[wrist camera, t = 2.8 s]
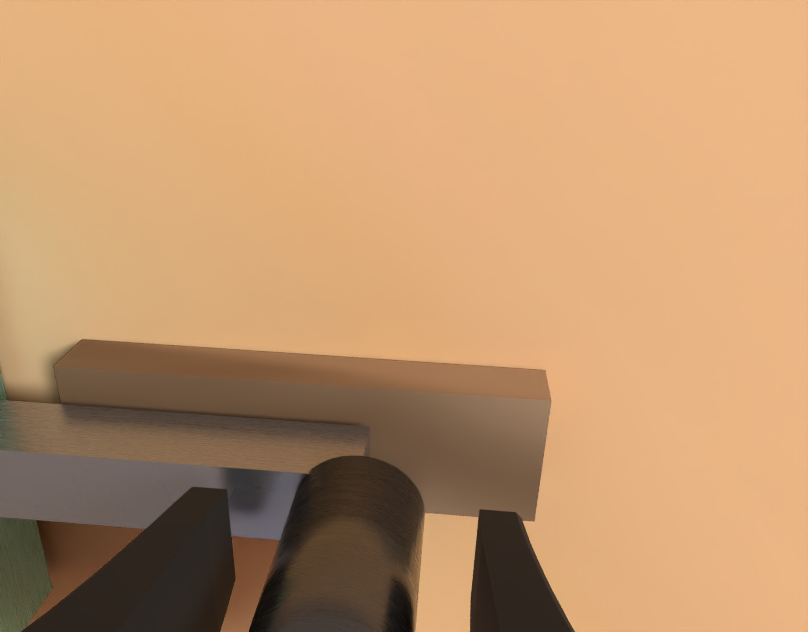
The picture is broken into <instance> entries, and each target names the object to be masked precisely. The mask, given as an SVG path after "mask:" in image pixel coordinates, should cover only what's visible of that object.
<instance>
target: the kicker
mask: <svg viewBox="0 0 808 632" xmlns="http://www.w3.org/2000/svg"><path fill="white" fill-rule="evenodd" d="M191 487H205V488H218V489H227V495H228V505H229V516H230V527H231V536H235V537H247V538H259V539H271V540H279V543H278V546H277V549H276V552H275V555H274V558H273V561H272V564H271V567H270V570H269V573H268V576H267V579H266V582H265V585H264V588H263V591H262V594H261V597H260V600H259V602H258V605H257V608H256V611H255V614H254V617H253V620H252V623H251V626H250V629H249V632H415V628H416V616H417V603H418V591H419V578H420V566H421V554H422V541H423V529H424V516H425V509H424V503H423V499H422V496H421V494H420V492H419V490H418V488H417V487H416V485H415V484H414V483H413V481H412V480H411V479H410V478H409V477H408V476H407V475H406V474H405V473H403V472H402V471H401V470H399V469H398V468H396V467H395V466H393V465H391V464H389V463H387V462H384V461H382V460H379V459H376V458H371V457H370V427H368V426H354V425H340V424H327V423H313V422H299V421H285V420H272V419H258V418H244V417H230V416H216V415H203V414H189V413H175V412H161V411H148V410H134V409H120V408H106V407H93V406H79V405H65V404H51V403H38V402H24V401H10V400H7V398H6V394H5V390H4V386H3V381H2V377H1V373H0V632H21V631H22V630H24V629H25V628H26V626H27V625H28V624H29V622H30V621H31V619H32V618H33V616H34V615H35V613H36V612H37V610H38V609H39V608H40V606H41V605H42V603H43V602H44V600H45V599H46V597H47V596H48V594H49V593H50V592H51V590H52V589H53V587H52V583H51V579H50V575H49V571H48V567H47V562H46V558H45V554H44V550H43V546H42V542H41V538H40V534H39V530H38V525H37V521H36V520H42V521H54V522H66V523H78V524H90V525H102V526H114V527H127V528H139V529H146V528H147V527H148V526H149V525H150V524H152V523H153V522H154V521H155V520H156V519H157V518H158V517H159V516H160V515H161V514H162V513H163V512H165V511H166V510H167V509H168V508H169V507H170V506H171V505H172V504H173V503H174V502H175V501H176V500H178V499H179V498H180V497H181V496H182V495H183V494H184V493H185V492H187V491H188V490H189V489H190V488H191Z"/></svg>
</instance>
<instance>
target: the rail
mask: <svg viewBox="0 0 808 632" xmlns="http://www.w3.org/2000/svg"><path fill="white" fill-rule="evenodd" d="M53 367H54V371H55V376H56V381H57V386H58V391H59V396H60V401H61V404H65V405H79V406H93V407H106V408H120V409H134V410H148V411H161V412H175V413H189V414H203V415H216V416H230V417H244V418H258V419H272V420H285V421H299V422H313V423H327V424H340V425H354V426H368V427H370V457H371V458H376V459H379V460H382V461H384V462H387V463H389V464H391V465H393V466H395V467H396V468H398V469H399V470H401V471H402V472H403V473H405V474H406V475H407V476H408V477H409V478H410V479H411V480H412V481H413V483H414V484H415V485H416V487H417V488H418V490H419V492H420V494H421V496H422V499H423V503H424V509H425V513H435V514H448V515H460V516H473V517H479V509H484V510H497V511H509V512H516V513H517V514H518V515H519V516H520V517H521V518H522V520H523V521H534V520H535V513H536V506H537V499H538V492H539V485H540V478H541V471H542V464H543V456H544V449H545V442H546V435H547V428H548V421H549V414H550V407H551V397H550V392H549V387H548V382H547V377H546V372H545V370H532V369H517V368H503V367H488V366H473V365H458V364H443V363H428V362H413V361H398V360H383V359H368V358H353V357H338V356H323V355H308V354H293V353H278V352H263V351H248V350H233V349H218V348H203V347H188V346H173V345H159V344H144V343H129V342H114V341H99V340H84V339H82V340H81V341H80V342H79V343H78V344H77V345H76V346H75V347H74V348H73V349H72V350H70V351H69V352H68V353H67V354H66V355H65V356H64V357H63V358H62V359H61V360H60V361H59V362H57V363H56V364H55V365H54V366H53Z"/></svg>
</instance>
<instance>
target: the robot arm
mask: <svg viewBox="0 0 808 632" xmlns="http://www.w3.org/2000/svg"><path fill="white" fill-rule="evenodd" d="M234 582H235V569H234V559H233V548H232V537H231V527H230V516H229V505H228V495H227V489H218V488H205V487H191V488H190V489H189V490H188V491H187V492H185V493H184V494H183V495H182V496H181V497H180V498H179V499H178V500H176V501H175V502H174V503H173V504H172V505H171V506H170V507H169V508H168V509H167V510H166V511H165V512H163V513H162V514H161V515H160V516H159V517H158V518H157V519H156V520H155V521H154V522H153V523H152V524H150V525H149V526H148V527H147V528H146V529H145V530H144V531H143V532H142V533H141V534H139V535H138V536H137V537H136V538H135V539H134V540H133V541H132V542H131V543H130V544H128V545H127V546H126V547H125V548H124V549H123V550H122V551H120V552H119V553H118V554H117V555H116V556H115V557H114V558H112V559H111V560H110V561H109V562H108V563H107V564H106V565H104V566H103V567H102V568H101V569H100V570H99V571H97V572H96V573H95V574H94V575H93V576H92V577H90V578H89V579H88V580H87V581H85V582H84V583H83V584H82V585H80V586H79V587H78V588H77V589H75V590H74V591H73V592H72V593H70V594H69V595H68V596H67V597H65V598H64V599H63V600H62V601H60V602H59V603H58V604H57V605H56V606H54V607H53V608H52V609H51V610H49V611H48V612H47V613H45V614H44V615H43V616H41V617H40V618H39V619H37V620H36V621H35V622H33V623H32V624H31V625H29V626H28V627H27V628H25V629H24V630H22V631H21V632H220V630H221V627H222V624H223V620H224V617H225V614H226V610H227V607H228V603H229V600H230V596H231V592H232V589H233V585H234ZM470 632H575V631H574V630H573V628H572V626H571V624H570V623H569V621H568V619H567V617H566V615H565V613H564V611H563V610H562V608H561V606H560V604H559V602H558V600H557V598H556V596H555V594H554V593H553V591H552V589H551V587H550V585H549V583H548V581H547V579H546V577H545V574H544V572H543V570H542V568H541V566H540V564H539V561H538V559H537V557H536V555H535V552H534V550H533V548H532V545H531V543H530V540H529V538H528V535H527V532H526V530H525V527H524V524H523V521H522V518H521V517H520V516H519V515H518V514H517V513H516V512H509V511H497V510H484V509H479V519H478V529H477V540H476V550H475V560H474V570H473V581H472V591H471V611H470Z"/></svg>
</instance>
